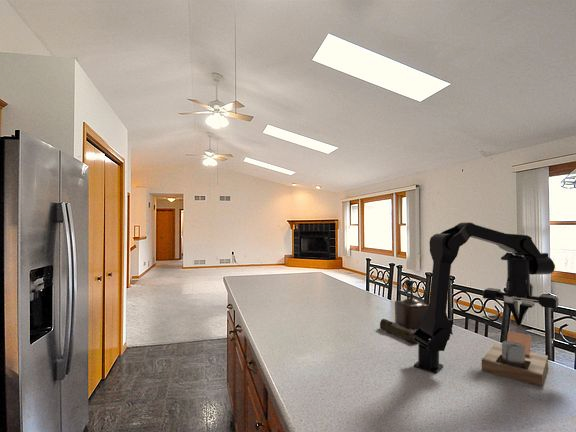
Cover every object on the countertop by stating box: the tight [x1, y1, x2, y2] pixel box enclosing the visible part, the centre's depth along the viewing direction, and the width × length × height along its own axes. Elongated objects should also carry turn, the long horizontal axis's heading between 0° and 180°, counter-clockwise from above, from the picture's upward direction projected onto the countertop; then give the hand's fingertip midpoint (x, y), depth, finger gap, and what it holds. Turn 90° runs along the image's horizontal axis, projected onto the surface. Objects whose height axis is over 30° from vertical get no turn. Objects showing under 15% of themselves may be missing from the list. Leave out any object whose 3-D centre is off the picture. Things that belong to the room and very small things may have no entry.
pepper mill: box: [394, 278, 429, 330], centre depth 141 cm, size 16×11×18 cm
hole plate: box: [481, 343, 549, 387], centre depth 97 cm, size 18×14×3 cm
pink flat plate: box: [506, 330, 532, 357], centre depth 101 cm, size 7×6×1 cm
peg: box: [501, 340, 525, 369], centre depth 94 cm, size 6×6×8 cm
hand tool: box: [379, 318, 418, 345], centre depth 125 cm, size 19×4×5 cm, turn 23°
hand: (519, 325), depth 101 cm, fingers closed
